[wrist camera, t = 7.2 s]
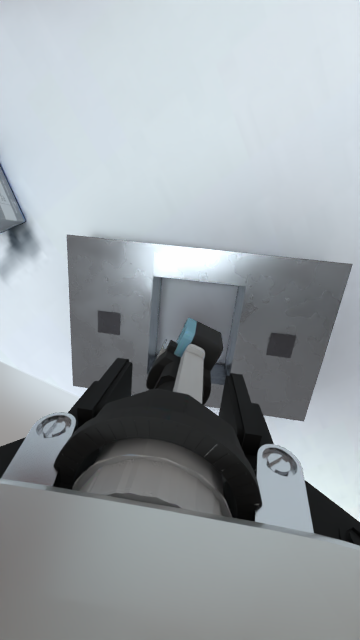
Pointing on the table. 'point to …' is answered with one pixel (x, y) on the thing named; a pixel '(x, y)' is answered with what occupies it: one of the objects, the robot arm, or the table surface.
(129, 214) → the table surface
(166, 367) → the push button
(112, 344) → the gray pocketed block
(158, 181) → the table surface
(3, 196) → the label tape box
